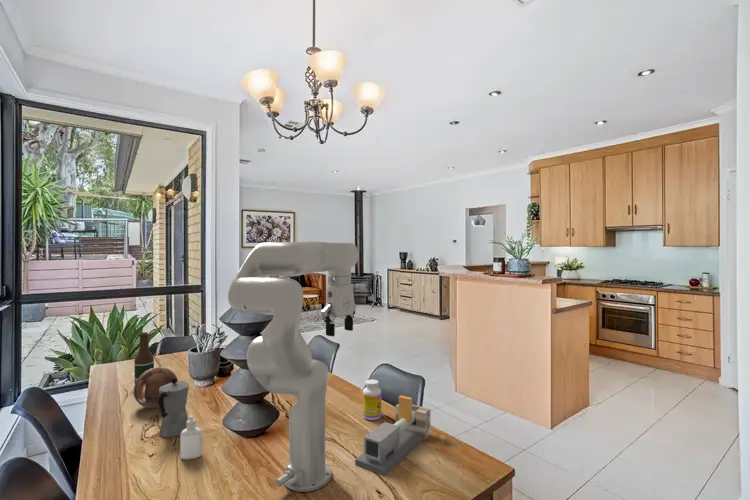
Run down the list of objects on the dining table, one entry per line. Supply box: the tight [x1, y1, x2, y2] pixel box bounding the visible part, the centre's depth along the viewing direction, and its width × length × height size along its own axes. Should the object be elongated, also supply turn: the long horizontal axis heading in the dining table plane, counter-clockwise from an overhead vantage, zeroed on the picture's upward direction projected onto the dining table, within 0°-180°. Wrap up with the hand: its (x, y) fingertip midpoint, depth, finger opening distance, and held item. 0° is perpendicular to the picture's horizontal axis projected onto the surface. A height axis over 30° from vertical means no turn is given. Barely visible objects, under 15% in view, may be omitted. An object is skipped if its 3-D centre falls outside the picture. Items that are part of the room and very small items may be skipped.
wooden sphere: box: [133, 366, 179, 409], centre depth 149 cm, size 15×15×15 cm
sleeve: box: [363, 421, 400, 464], centre depth 112 cm, size 11×5×7 cm, turn 147°
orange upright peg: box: [393, 395, 416, 433], centre depth 121 cm, size 16×4×10 cm, turn 147°
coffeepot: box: [158, 377, 190, 439], centre depth 128 cm, size 15×9×18 cm, turn 0°
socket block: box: [395, 403, 432, 441], centre depth 127 cm, size 4×11×8 cm, turn 57°
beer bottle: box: [133, 331, 155, 384], centre depth 170 cm, size 8×8×24 cm
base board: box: [354, 429, 424, 477], centre depth 117 cm, size 25×10×2 cm, turn 147°
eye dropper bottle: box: [179, 415, 203, 461], centre depth 113 cm, size 4×6×12 cm
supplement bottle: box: [362, 379, 382, 421], centre depth 139 cm, size 7×7×13 cm
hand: (339, 332), depth 127 cm, fingers open, 9 cm apart
